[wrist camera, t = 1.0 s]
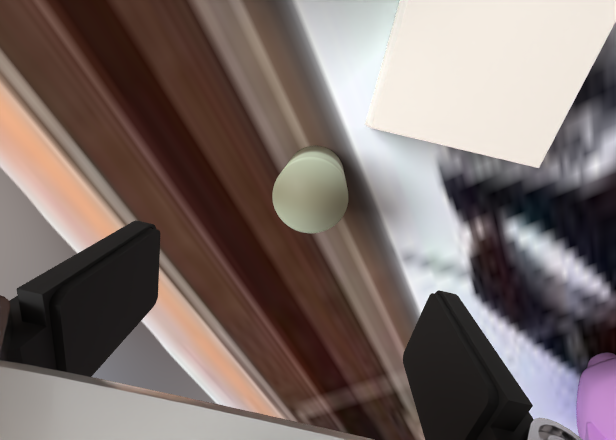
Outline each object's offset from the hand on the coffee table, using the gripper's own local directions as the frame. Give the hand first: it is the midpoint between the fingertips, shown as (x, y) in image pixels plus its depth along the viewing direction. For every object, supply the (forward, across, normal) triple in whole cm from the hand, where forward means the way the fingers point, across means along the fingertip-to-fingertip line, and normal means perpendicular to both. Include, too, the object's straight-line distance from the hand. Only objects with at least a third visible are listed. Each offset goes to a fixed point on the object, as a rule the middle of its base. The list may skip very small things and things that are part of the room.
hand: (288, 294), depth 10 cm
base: (+17, -9, -12) cm, 22 cm away
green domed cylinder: (+17, 0, 0) cm, 17 cm away
